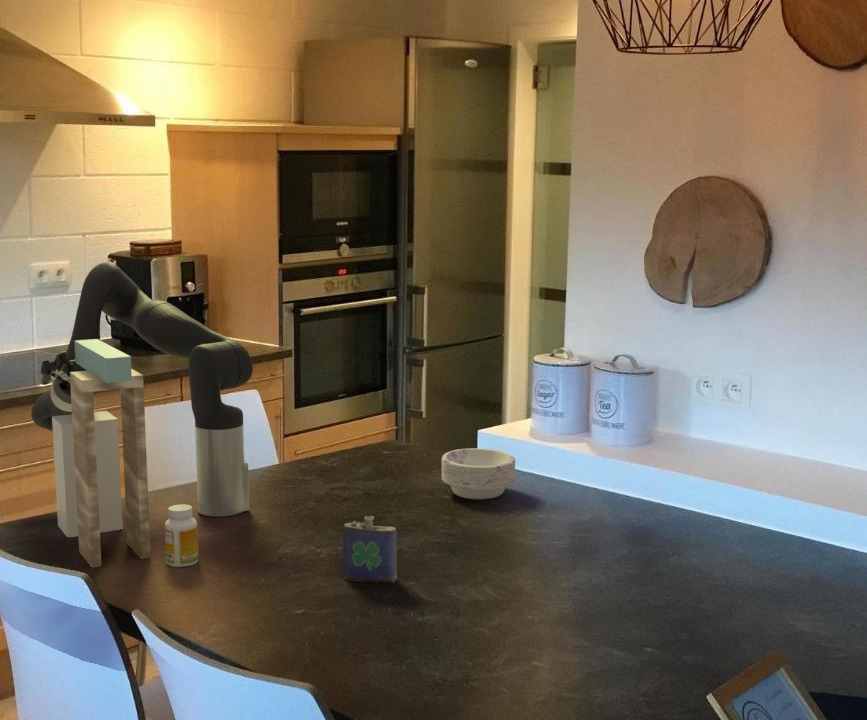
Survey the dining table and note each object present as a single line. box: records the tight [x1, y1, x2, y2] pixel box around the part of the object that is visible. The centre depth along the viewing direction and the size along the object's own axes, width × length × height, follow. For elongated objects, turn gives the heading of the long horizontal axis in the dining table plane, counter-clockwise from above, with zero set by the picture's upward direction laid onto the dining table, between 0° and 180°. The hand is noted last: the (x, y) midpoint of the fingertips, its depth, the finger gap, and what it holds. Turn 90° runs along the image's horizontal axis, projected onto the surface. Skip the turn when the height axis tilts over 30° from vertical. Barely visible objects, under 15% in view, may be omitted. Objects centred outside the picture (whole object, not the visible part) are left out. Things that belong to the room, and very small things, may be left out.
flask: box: [342, 515, 398, 584], centre depth 184 cm, size 9×3×11 cm, turn 74°
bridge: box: [70, 368, 152, 569], centre depth 194 cm, size 10×9×32 cm
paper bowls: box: [441, 447, 516, 500], centre depth 233 cm, size 15×15×8 cm
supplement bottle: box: [164, 503, 199, 568], centre depth 192 cm, size 5×5×10 cm
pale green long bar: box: [74, 339, 132, 383], centre depth 193 cm, size 4×22×4 cm, turn 30°
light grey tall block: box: [52, 410, 124, 539], centre depth 210 cm, size 10×8×21 cm
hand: (89, 354), depth 201 cm, fingers open, 8 cm apart
